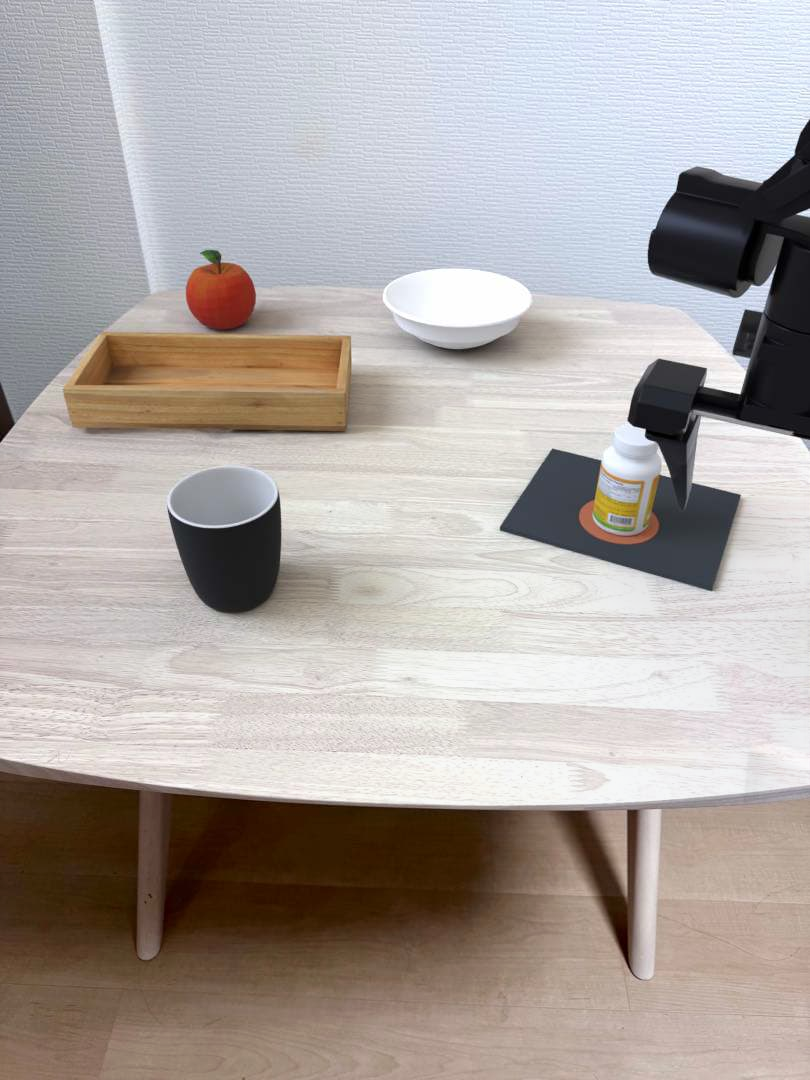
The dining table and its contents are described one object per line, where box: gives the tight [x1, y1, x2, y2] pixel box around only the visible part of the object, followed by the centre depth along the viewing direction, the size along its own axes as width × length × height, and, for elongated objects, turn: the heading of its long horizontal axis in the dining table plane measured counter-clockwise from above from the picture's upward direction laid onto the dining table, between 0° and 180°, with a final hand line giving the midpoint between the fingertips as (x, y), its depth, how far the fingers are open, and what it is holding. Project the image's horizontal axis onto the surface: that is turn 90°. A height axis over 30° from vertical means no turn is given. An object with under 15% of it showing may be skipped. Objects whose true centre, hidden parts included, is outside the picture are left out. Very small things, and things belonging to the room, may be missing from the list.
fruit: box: [185, 249, 257, 331], centre depth 116 cm, size 10×10×10 cm
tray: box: [62, 331, 352, 432], centre depth 100 cm, size 31×15×6 cm, turn 91°
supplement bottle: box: [593, 422, 663, 536], centre depth 79 cm, size 5×5×10 cm
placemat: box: [499, 448, 742, 592], centre depth 84 cm, size 20×16×1 cm
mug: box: [166, 464, 282, 614], centre depth 72 cm, size 12×9×10 cm
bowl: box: [382, 267, 533, 350], centre depth 114 cm, size 20×20×6 cm
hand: (747, 524), depth 61 cm, fingers open, 9 cm apart
